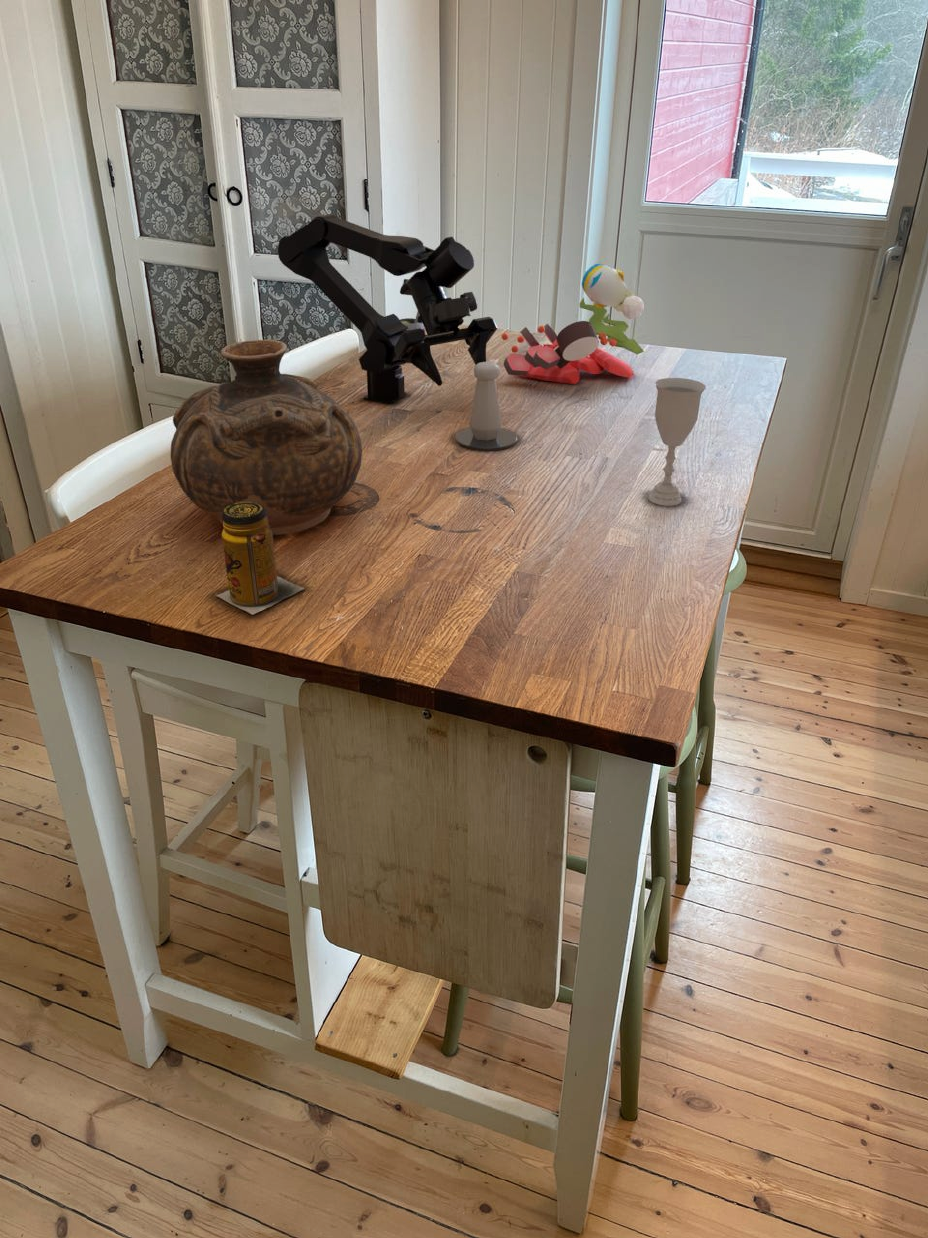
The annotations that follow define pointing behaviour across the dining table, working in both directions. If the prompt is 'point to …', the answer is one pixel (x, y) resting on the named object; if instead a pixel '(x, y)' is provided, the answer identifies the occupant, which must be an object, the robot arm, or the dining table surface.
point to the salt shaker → (485, 403)
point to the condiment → (251, 559)
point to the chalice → (674, 427)
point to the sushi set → (582, 335)
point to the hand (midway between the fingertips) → (463, 380)
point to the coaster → (499, 443)
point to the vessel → (265, 442)
